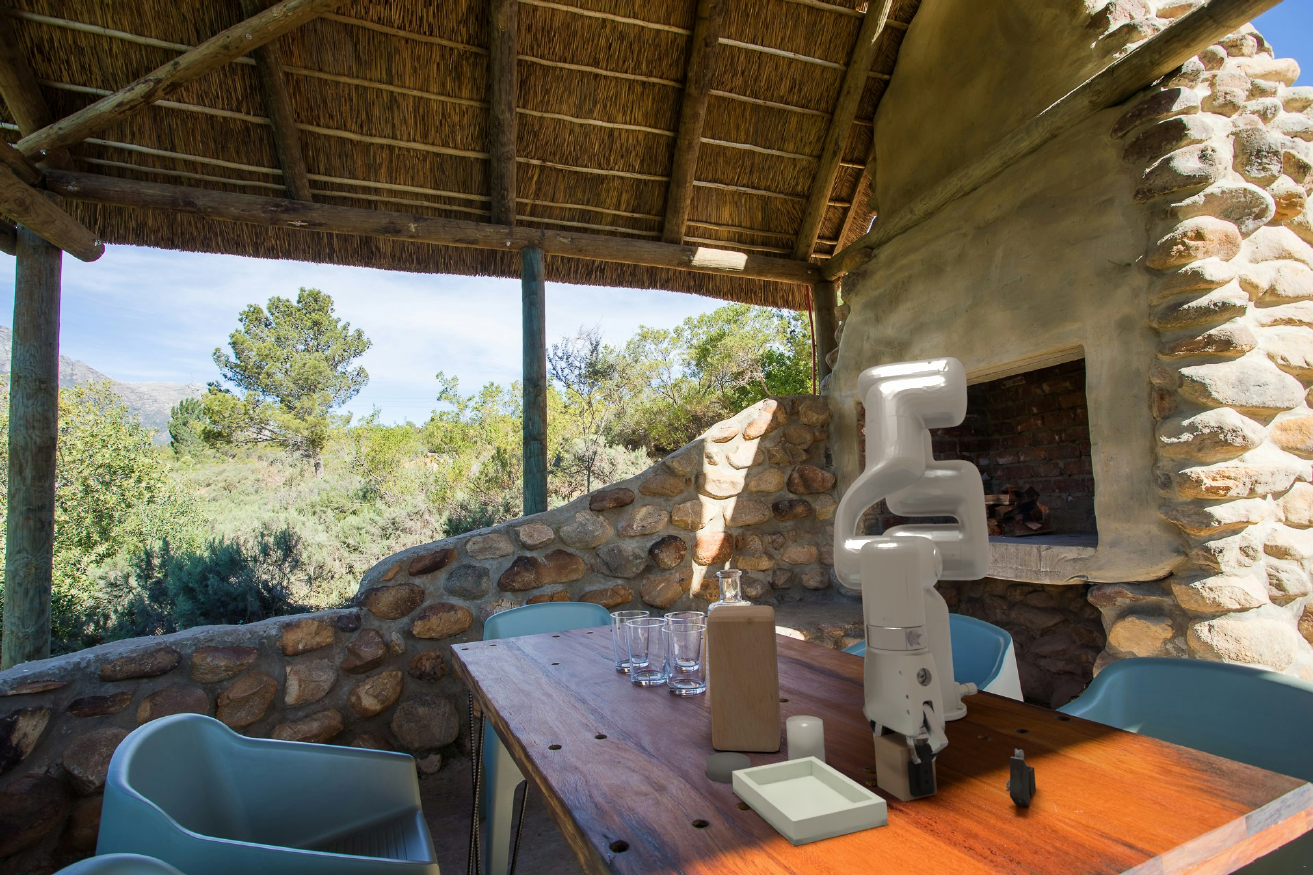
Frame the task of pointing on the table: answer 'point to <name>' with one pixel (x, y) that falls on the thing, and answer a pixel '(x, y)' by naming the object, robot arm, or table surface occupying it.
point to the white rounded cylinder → (805, 737)
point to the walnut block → (896, 765)
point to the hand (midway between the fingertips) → (906, 783)
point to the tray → (809, 800)
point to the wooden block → (744, 678)
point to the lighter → (1020, 780)
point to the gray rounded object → (726, 766)
